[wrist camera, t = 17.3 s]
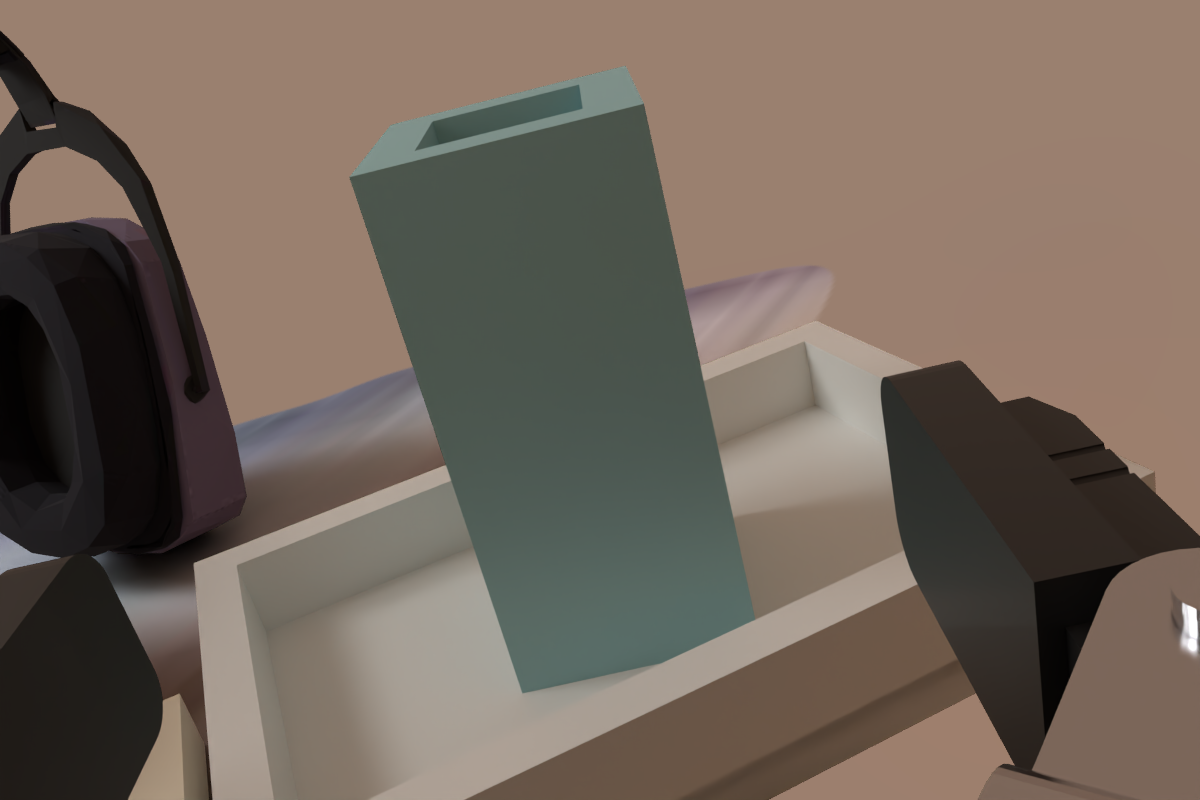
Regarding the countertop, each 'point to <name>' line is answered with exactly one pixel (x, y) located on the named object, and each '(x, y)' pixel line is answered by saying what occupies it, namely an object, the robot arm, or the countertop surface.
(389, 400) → the countertop surface
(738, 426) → the tray
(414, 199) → the sleeve
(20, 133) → the headphones
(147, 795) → the stand
